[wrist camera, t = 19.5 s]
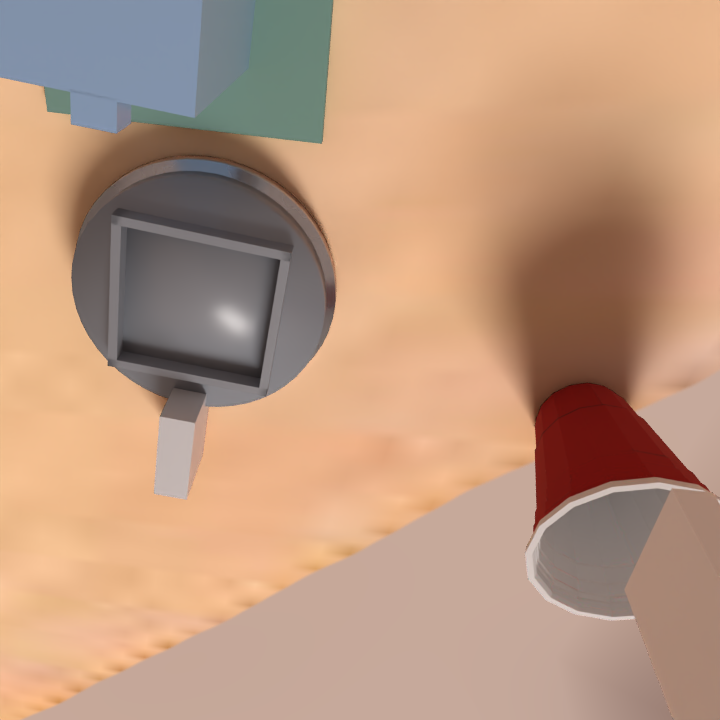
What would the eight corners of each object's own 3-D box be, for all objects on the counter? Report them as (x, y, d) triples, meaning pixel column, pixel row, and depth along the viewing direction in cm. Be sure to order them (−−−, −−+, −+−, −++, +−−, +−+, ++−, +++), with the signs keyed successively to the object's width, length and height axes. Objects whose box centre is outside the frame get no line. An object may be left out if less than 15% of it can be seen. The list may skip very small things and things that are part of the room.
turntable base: (65, 139, 36) (59, 143, 35) (348, 172, 36) (347, 176, 36) (93, 376, 44) (89, 383, 43) (325, 401, 44) (324, 408, 43)
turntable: (349, 203, 36) (344, 233, 32) (291, 470, 46) (283, 517, 42) (81, 143, 35) (45, 168, 31) (81, 431, 45) (54, 475, 41)
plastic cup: (465, 454, 46) (488, 600, 36) (547, 325, 41) (601, 453, 30) (603, 502, 48) (663, 653, 38) (699, 385, 43) (798, 524, 32)
